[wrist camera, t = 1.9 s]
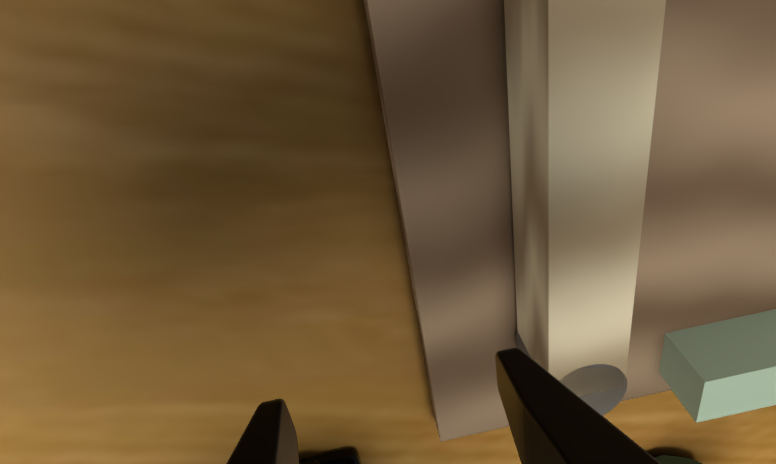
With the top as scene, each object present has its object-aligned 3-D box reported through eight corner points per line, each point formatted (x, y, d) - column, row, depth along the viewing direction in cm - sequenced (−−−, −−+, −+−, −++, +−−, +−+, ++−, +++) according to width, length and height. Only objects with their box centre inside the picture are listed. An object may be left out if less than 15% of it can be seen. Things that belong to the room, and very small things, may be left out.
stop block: (816, 337, 28) (868, 383, 25) (658, 372, 27) (696, 422, 25) (830, 297, 26) (888, 341, 24) (664, 333, 26) (705, 382, 23)
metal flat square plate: (822, 330, 30) (846, 350, 28) (434, 416, 29) (440, 441, 28) (1006, -180, 18) (1060, -185, 16) (354, -55, 17) (358, -50, 16)
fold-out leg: (585, 351, 25) (624, 413, 22) (516, 366, 25) (546, 430, 22) (606, -57, 16) (674, -44, 13) (499, -36, 16) (544, -18, 13)
